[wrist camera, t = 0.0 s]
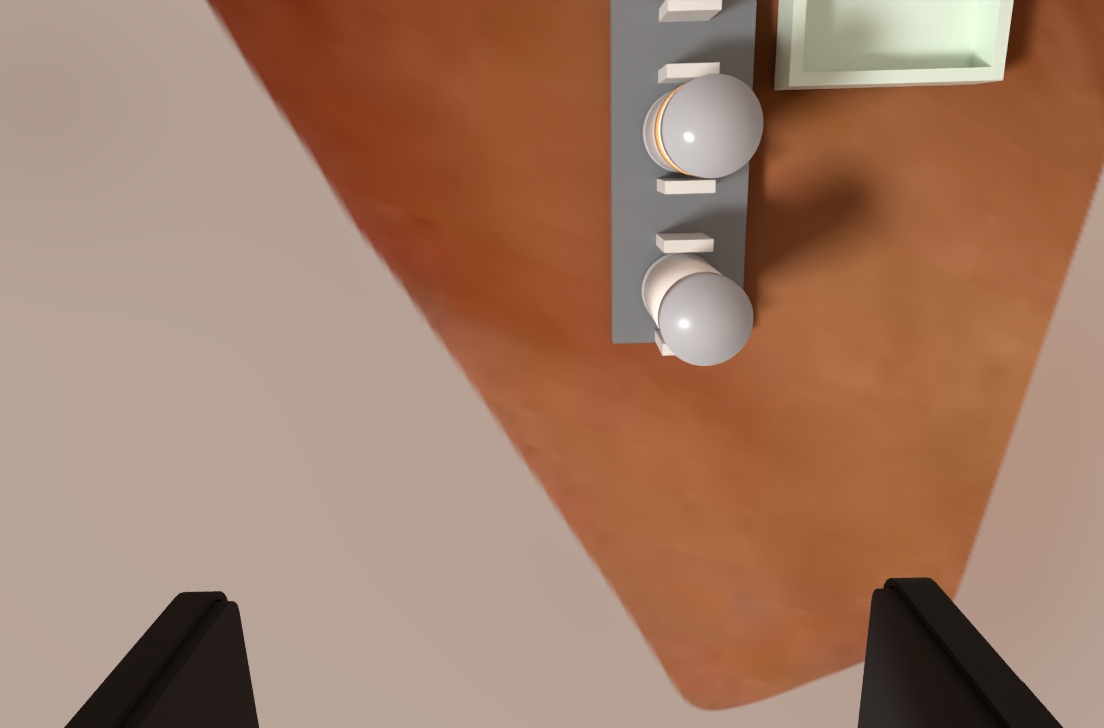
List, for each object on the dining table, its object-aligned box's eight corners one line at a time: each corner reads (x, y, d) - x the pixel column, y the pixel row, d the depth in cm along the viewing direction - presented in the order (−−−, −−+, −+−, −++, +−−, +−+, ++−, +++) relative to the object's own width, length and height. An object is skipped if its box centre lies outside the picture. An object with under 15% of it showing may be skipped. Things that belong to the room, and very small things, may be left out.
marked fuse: (642, 90, 37) (664, 75, 29) (722, 88, 37) (765, 72, 29) (641, 173, 38) (662, 179, 30) (719, 171, 38) (760, 176, 30)
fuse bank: (609, -107, 35) (626, -191, 27) (755, -111, 35) (821, -198, 26) (611, 338, 42) (625, 389, 33) (735, 335, 41) (784, 385, 33)
